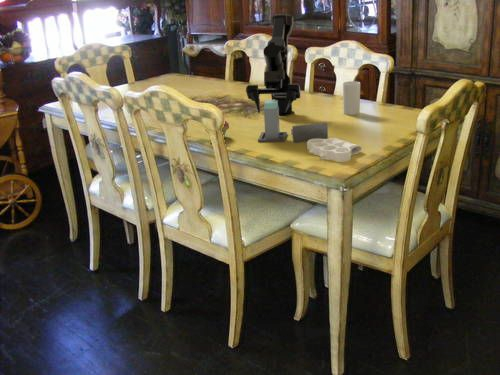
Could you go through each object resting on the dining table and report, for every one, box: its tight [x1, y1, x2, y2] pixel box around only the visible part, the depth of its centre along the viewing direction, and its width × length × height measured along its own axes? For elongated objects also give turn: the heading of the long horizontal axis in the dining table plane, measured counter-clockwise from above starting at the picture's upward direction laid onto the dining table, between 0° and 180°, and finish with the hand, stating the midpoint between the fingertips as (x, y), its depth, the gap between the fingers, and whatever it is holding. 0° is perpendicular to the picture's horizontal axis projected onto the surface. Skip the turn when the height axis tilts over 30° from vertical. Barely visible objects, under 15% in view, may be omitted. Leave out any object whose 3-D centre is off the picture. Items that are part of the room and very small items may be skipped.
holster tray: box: [257, 131, 288, 143], centre depth 211 cm, size 9×9×1 cm
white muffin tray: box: [306, 137, 363, 163], centre depth 193 cm, size 3×18×15 cm
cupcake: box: [205, 104, 230, 138], centre depth 213 cm, size 9×8×12 cm
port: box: [290, 121, 329, 144], centre depth 209 cm, size 10×12×6 cm
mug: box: [342, 80, 361, 116], centre depth 236 cm, size 10×7×12 cm, turn 17°
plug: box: [263, 99, 281, 139], centre depth 209 cm, size 4×4×13 cm
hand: (271, 112), depth 209 cm, fingers open, 9 cm apart
